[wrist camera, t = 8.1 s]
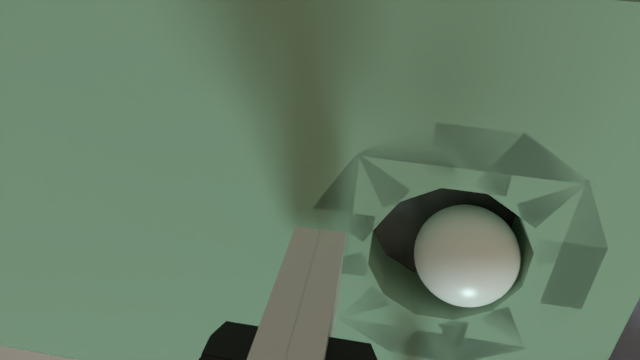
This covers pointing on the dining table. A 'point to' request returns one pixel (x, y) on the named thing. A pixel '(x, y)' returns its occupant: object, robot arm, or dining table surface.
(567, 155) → the green
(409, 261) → the dining table surface
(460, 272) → the ball
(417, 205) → the dining table surface
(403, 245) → the dining table surface
